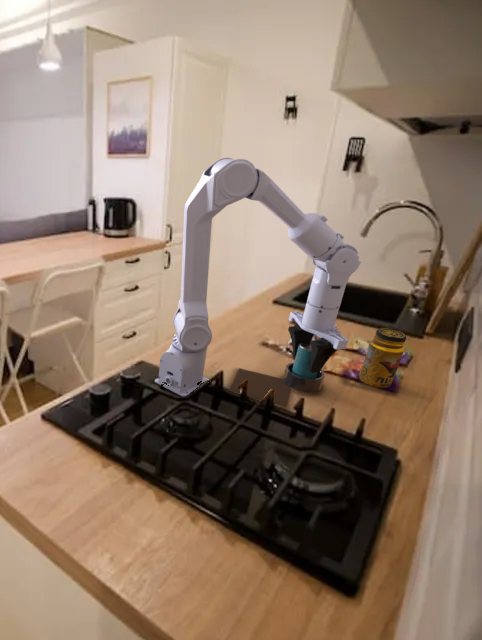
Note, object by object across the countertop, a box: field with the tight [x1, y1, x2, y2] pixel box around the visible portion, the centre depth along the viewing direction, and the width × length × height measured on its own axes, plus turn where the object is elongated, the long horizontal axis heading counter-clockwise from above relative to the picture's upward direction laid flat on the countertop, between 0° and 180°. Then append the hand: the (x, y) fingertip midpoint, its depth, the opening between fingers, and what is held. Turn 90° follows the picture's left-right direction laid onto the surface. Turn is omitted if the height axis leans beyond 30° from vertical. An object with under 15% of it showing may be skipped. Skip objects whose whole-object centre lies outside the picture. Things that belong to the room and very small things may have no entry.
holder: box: [282, 362, 326, 393], centre depth 86 cm, size 7×7×4 cm
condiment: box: [358, 327, 407, 389], centre depth 86 cm, size 7×8×12 cm
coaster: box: [228, 368, 291, 408], centre depth 85 cm, size 11×11×1 cm
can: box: [292, 342, 318, 379], centre depth 85 cm, size 5×5×8 cm
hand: (306, 365), depth 85 cm, fingers closed on can, 5 cm apart
